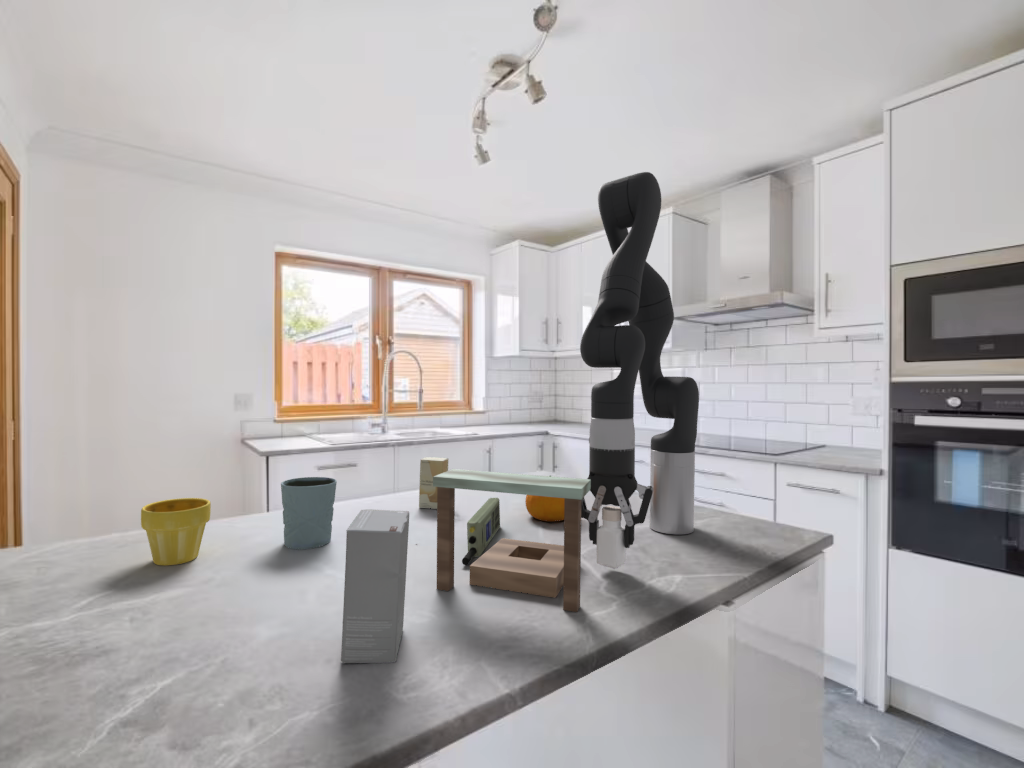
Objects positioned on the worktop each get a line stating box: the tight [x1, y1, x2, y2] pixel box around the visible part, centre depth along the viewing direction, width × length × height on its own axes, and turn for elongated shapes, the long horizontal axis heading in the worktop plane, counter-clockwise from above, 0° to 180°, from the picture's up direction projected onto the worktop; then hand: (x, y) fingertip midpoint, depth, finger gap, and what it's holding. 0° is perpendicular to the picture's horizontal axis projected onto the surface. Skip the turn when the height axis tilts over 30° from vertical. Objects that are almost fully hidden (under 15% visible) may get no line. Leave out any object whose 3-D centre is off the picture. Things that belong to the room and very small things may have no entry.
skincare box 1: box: [340, 509, 410, 664], centre depth 63 cm, size 8×7×16 cm
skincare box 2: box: [418, 456, 449, 510], centre depth 129 cm, size 6×4×12 cm
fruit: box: [525, 495, 565, 522], centre depth 120 cm, size 12×12×10 cm
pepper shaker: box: [596, 505, 627, 570], centre depth 87 cm, size 4×4×10 cm
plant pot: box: [140, 497, 212, 566], centre depth 91 cm, size 10×10×10 cm
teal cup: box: [280, 476, 337, 550], centre depth 101 cm, size 10×10×12 cm
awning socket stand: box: [433, 468, 591, 613], centre depth 84 cm, size 19×23×18 cm
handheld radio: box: [461, 497, 501, 566], centre depth 101 cm, size 7×3×25 cm
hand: (611, 544), depth 87 cm, fingers closed on pepper shaker, 4 cm apart
